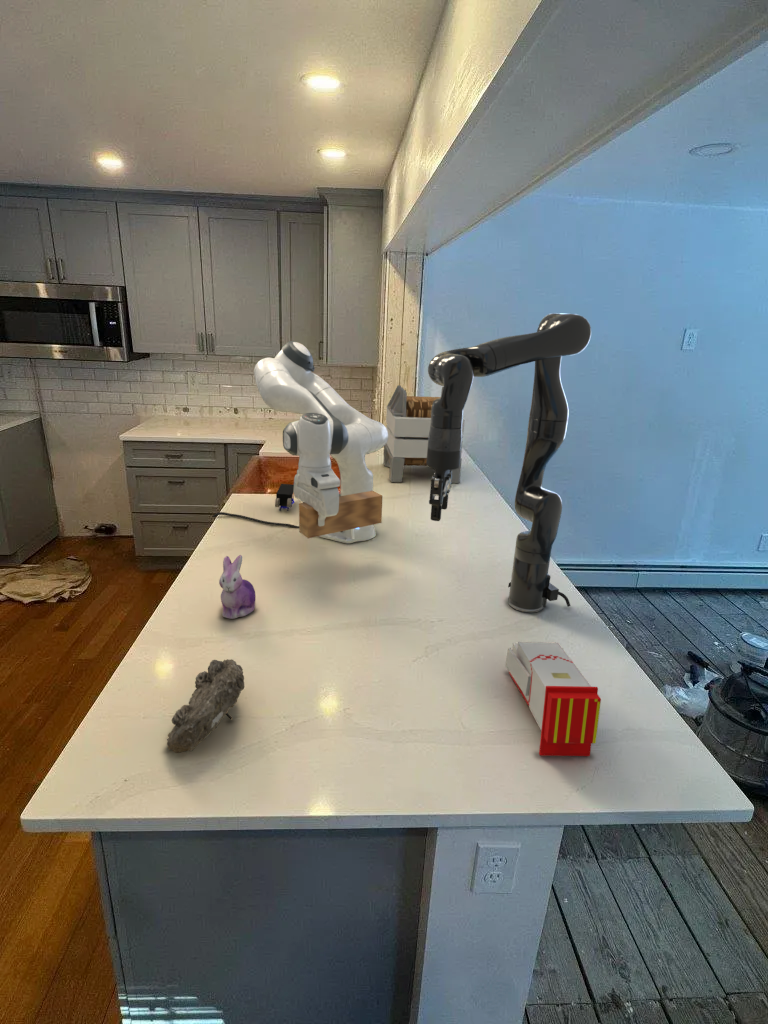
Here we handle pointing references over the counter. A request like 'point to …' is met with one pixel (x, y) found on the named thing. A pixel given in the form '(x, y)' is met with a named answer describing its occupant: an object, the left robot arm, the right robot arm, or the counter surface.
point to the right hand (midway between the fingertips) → (439, 514)
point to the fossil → (206, 705)
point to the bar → (343, 515)
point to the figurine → (235, 590)
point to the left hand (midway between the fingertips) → (314, 521)
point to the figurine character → (285, 496)
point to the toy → (556, 697)
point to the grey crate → (409, 433)
